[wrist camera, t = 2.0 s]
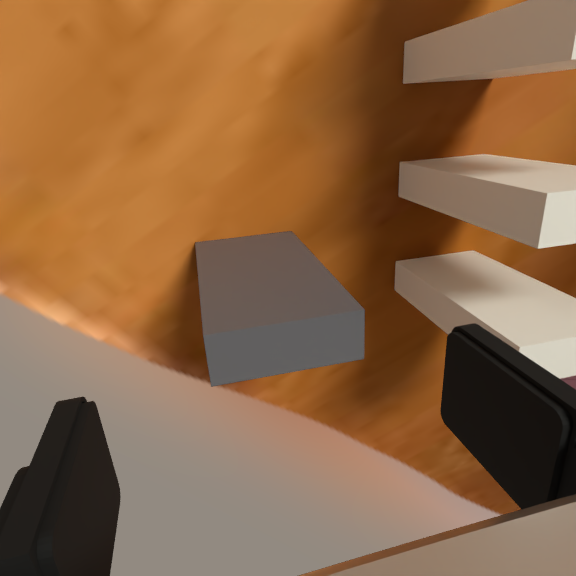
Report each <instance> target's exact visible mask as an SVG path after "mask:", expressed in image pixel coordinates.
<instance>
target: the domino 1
mask: <svg viewBox="0 0 576 576" xmlns="http://www.w3.org/2000/svg"><path fill="white" fill-rule="evenodd" d="M195 247H196V259H197V270H198V282H199V293H200V305H201V316H202V328H203V338H204V344H205V350H206V357H207V363H208V369H209V376H210V382H211V387H212V386H217V385H223V384H228V383H234V382H240V381H245V380H251V379H256V378H262V377H267V376H273V375H278V374H284V373H289V372H295V371H300V370H306V369H311V368H317V367H322V366H328V365H333V364H339V363H344V362H350V361H355V360H361V359H364V327H365V309H364V308H363V307H362V306H361V305H360V304H359V303H358V302H357V301H356V300H355V299H354V298H353V297H352V295H351V294H350V293H349V292H348V291H347V290H346V289H345V288H344V287H343V286H342V285H341V284H340V283H339V282H338V280H337V279H336V278H335V277H334V276H333V275H332V274H331V273H330V272H329V271H328V270H327V269H326V268H325V266H324V265H323V264H322V263H321V262H320V261H319V260H318V259H317V258H316V257H315V256H314V255H313V254H312V252H311V251H310V250H309V249H308V248H307V247H306V246H305V245H304V244H303V243H302V242H301V241H300V240H299V238H298V237H297V236H296V235H295V234H294V233H293V232H292V231H287V232H279V233H270V234H262V235H254V236H245V237H237V238H229V239H220V240H212V241H203V242H195Z"/></svg>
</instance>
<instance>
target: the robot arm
mask: <svg viewBox="0 0 576 576" xmlns="http://www.w3.org/2000/svg"><path fill="white" fill-rule="evenodd" d="M441 416H442V419H443V421H444V423H445V424H446V426H447V427H448V428H449V429H450V430H451V431H452V432H453V433H454V435H455V436H456V437H457V438H458V439H459V440H460V441H461V442H462V443H463V445H464V446H465V447H466V448H467V449H468V450H469V451H470V452H471V453H472V455H473V456H474V457H475V458H476V459H477V460H478V461H479V462H480V463H481V465H482V466H483V467H484V468H485V469H486V470H487V471H488V472H489V473H490V475H491V476H492V477H493V478H494V479H495V480H496V481H497V482H498V483H499V485H500V486H501V487H502V488H503V489H504V490H505V491H506V492H507V493H508V495H509V496H510V497H511V498H512V499H513V500H514V501H515V502H516V503H517V505H518V506H519V507H520V508H521V509H522V510H518V511H515V512H511V513H508V514H505V515H501V516H498V517H494V518H491V519H487V520H484V521H480V522H477V523H474V524H470V525H467V526H464V527H460V528H456V529H453V530H450V531H446V532H443V533H439V534H436V535H433V536H429V537H426V538H423V539H419V540H416V541H412V542H409V543H406V544H402V545H399V546H396V547H392V548H389V549H385V550H382V551H379V552H375V553H372V554H369V555H365V556H362V557H359V558H355V559H352V560H349V561H345V562H342V563H338V564H335V565H332V566H329V567H325V568H322V569H319V570H315V571H312V572H309V573H306V574H302V575H299V576H576V389H574V388H573V387H571V386H570V385H568V384H567V383H565V382H564V381H562V380H561V379H559V378H558V377H556V376H555V375H553V374H552V373H550V372H549V371H547V370H546V369H544V368H543V367H541V366H540V365H538V364H537V363H535V362H534V361H532V360H531V359H529V358H528V357H526V356H525V355H523V354H522V353H520V352H519V351H517V350H516V349H514V348H513V347H511V346H510V345H508V344H507V343H505V342H504V341H502V340H501V339H499V338H498V337H496V336H495V335H493V334H492V333H490V332H489V331H487V330H486V329H484V328H483V327H481V326H480V325H478V324H476V323H472V324H467V325H461V326H456V327H454V328H453V330H452V333H449V335H448V337H447V346H446V357H445V368H444V379H443V390H442V402H441ZM119 506H120V488H119V483H118V480H117V477H116V473H115V470H114V466H113V462H112V459H111V455H110V452H109V448H108V445H107V442H106V438H105V434H104V431H103V428H102V424H101V420H100V417H99V413H98V410H97V407H96V404H95V402H93V401H91V402H87V401H86V399H85V397H79V398H74V399H68V400H64V401H58V402H57V403H56V405H55V406H54V409H53V411H52V413H51V416H50V418H49V421H48V423H47V425H46V428H45V430H44V433H43V435H42V437H41V440H40V442H39V445H38V447H37V449H36V452H35V454H34V457H33V459H32V461H31V463H30V466H27V467H23V468H21V469H20V470H18V472H17V474H16V475H15V477H14V479H13V481H12V484H11V486H10V488H9V490H8V492H7V495H6V497H5V499H4V501H3V503H2V506H1V508H0V576H110V569H111V563H112V556H113V549H114V542H115V535H116V527H117V520H118V514H119Z"/></svg>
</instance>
